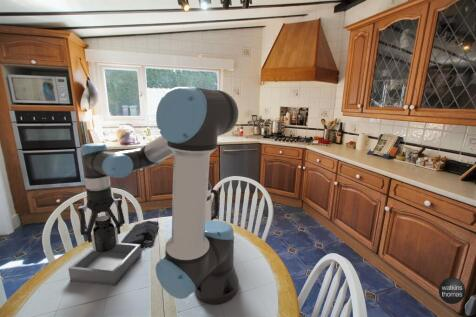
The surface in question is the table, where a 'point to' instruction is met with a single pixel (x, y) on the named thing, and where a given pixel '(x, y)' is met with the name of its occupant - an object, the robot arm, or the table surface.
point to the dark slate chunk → (142, 234)
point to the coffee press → (209, 204)
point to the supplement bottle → (104, 234)
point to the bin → (105, 265)
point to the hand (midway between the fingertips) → (105, 245)
